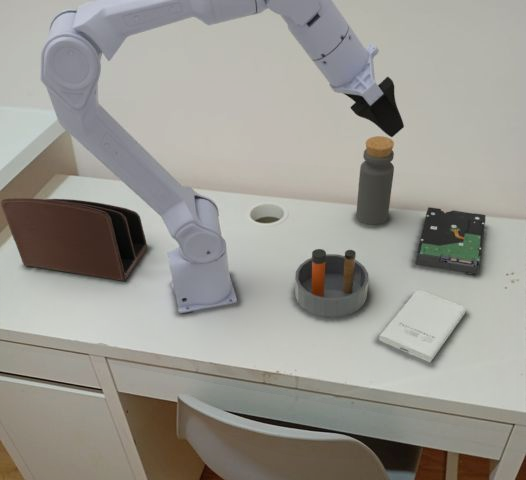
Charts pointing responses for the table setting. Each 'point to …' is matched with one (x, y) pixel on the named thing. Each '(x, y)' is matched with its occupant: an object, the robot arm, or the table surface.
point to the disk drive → (451, 241)
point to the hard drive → (423, 325)
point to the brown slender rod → (348, 271)
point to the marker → (318, 272)
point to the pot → (331, 288)
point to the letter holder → (76, 236)
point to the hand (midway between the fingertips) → (386, 120)
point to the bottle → (375, 181)
